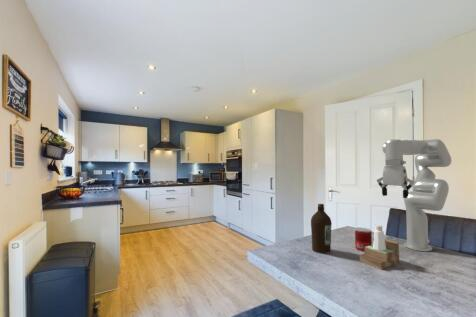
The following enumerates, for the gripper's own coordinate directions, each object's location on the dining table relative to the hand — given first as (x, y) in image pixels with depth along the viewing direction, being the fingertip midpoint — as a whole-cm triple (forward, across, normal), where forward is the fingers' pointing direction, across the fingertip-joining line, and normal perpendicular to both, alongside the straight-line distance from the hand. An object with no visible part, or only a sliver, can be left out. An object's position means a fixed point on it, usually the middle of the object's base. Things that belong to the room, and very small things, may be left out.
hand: (394, 196), depth 117 cm
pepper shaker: (+24, 0, +15) cm, 28 cm away
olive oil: (+31, +24, +27) cm, 47 cm away
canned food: (+31, +14, +5) cm, 34 cm away
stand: (+30, 0, +15) cm, 34 cm away
